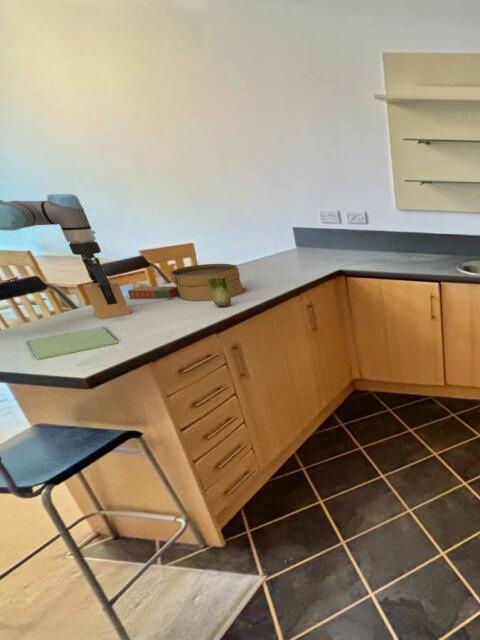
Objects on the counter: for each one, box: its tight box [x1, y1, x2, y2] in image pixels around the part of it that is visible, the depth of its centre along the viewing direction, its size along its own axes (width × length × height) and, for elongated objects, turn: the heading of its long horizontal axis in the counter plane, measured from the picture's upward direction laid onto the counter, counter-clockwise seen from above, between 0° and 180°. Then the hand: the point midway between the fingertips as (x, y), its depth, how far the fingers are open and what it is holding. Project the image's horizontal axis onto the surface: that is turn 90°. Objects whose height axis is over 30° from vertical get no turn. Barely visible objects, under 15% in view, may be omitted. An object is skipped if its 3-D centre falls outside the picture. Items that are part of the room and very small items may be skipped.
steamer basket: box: [170, 263, 244, 302], centre depth 186 cm, size 25×25×11 cm
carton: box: [127, 286, 180, 301], centre depth 180 cm, size 8×16×4 cm, turn 98°
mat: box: [28, 328, 119, 361], centre depth 132 cm, size 20×18×1 cm
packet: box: [82, 280, 131, 320], centre depth 156 cm, size 6×9×12 cm, turn 141°
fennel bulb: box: [208, 277, 232, 307], centre depth 169 cm, size 6×5×12 cm
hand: (108, 300), depth 156 cm, fingers open, 13 cm apart
